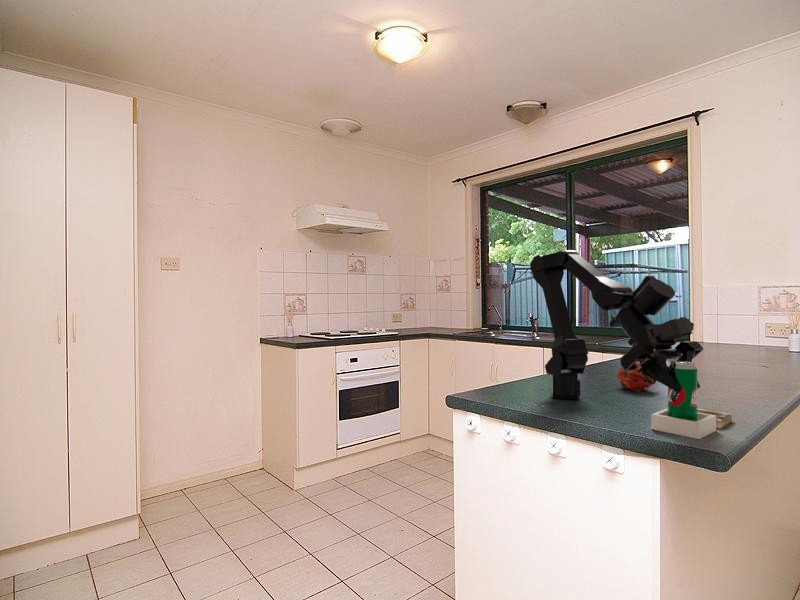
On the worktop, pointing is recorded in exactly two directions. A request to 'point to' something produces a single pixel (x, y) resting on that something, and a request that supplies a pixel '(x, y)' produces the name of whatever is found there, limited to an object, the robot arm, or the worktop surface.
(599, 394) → the worktop surface
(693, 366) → the soda can
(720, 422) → the checker cradle
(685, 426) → the bin
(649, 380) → the dragon fruit
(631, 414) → the worktop surface
